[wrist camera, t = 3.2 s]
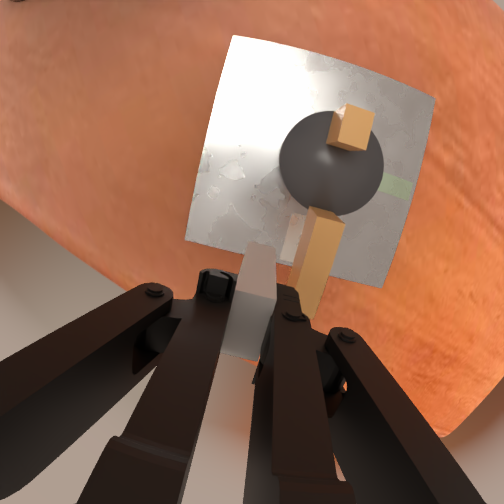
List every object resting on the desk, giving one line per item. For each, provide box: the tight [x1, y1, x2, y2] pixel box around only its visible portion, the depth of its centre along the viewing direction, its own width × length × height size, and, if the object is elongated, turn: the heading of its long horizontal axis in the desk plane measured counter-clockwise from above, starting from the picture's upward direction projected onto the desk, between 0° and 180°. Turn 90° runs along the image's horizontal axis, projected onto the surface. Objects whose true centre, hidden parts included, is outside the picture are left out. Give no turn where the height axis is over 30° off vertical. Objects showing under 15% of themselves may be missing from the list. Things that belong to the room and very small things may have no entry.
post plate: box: [185, 35, 435, 288], centre depth 28 cm, size 22×22×6 cm
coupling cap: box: [279, 103, 384, 319], centre depth 22 cm, size 14×8×8 cm, turn 167°
